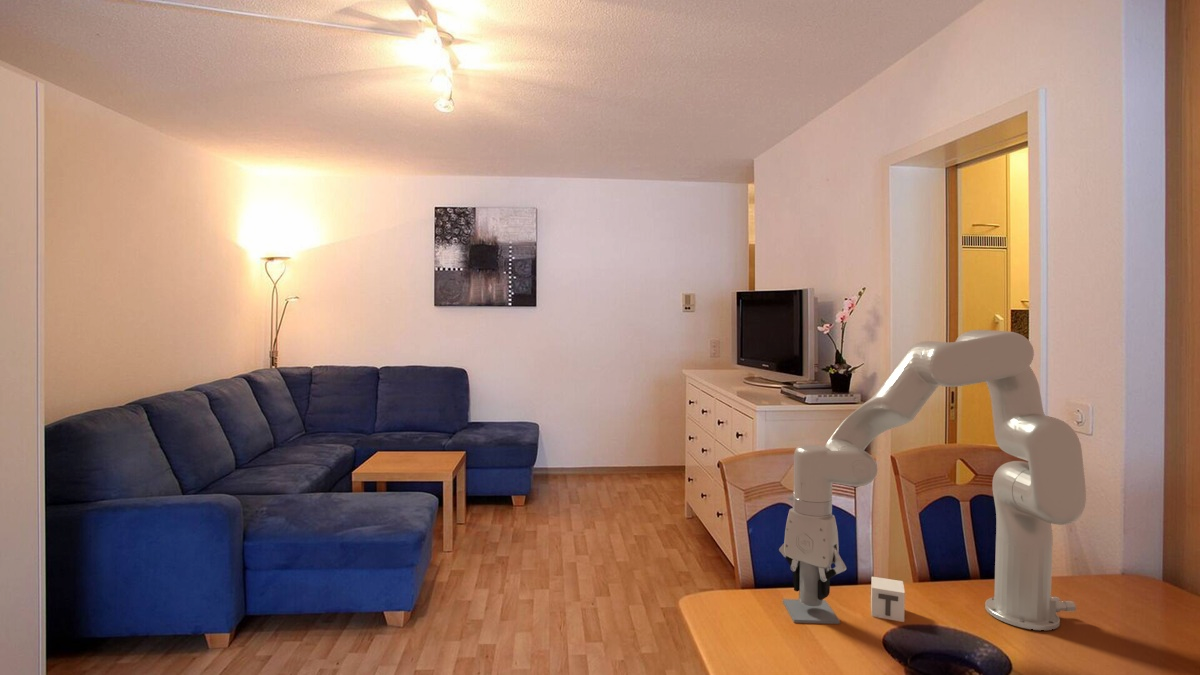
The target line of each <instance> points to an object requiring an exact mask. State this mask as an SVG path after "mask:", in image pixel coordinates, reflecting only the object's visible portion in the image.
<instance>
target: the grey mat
mask: <svg viewBox="0 0 1200 675" xmlns="http://www.w3.org/2000/svg"><path fill="white" fill-rule="evenodd" d="M782 604H783V605H784V607H785V606H786V607H785V609H786V610H788V611H787V612H788V614H789V616H790V619H791V620H792V622H793V623H796V624H824V625H825V624H828V625H834V624H835V625H841V624H840V623H841V620H840V619H839V618H838V616H837V615H836V614H835V612H834V610H833V609H832V608H831V606H830V605H829V602H827V600H825V599H823V600H822V604H821V605H820V606H808V605H805V604H803V603H801V602H800V600H799V598H797V599H794V598H788V599H787V598H783V599H782Z"/></svg>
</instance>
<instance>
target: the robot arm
mask: <svg viewBox="0 0 1200 675" xmlns="http://www.w3.org/2000/svg"><path fill="white" fill-rule="evenodd" d="M1034 356H1035V352H1034V348H1033V344H1032V343H1031V341H1030V340H1029V339H1028V338H1027V337H1025V336H1024V335H1022V334H1020V333H1018V332H1015V331H1008V330H989V329H976V330H975V329H974V330H973V329H972V330H968V331H966V332H963V333H962V334H961V333H960V335H959V336H958V337H957V338H956V339H955V341H951V342H945V341H944V342H942V341H929V340H928V341H927V340H926V341H920V342H916V343H915V344H914V345H912V346H911V347H910V348H908V350H907V351H906V352H905V354H904V355H903V357H902V358H901V359H900V361H899V362H898V363H897V364H896V365H895V367H894V368H893V370H892V371H891V373H890V374H888V377H886V379H885V380H884V382H883V383H882V385H881V386H880V387H879V389H878V390H877V391H876V392H875V393H874V395H873V396H872V397H871V398H870V399H868V400H866V401H865V402H863V403H862V404H861V405H860V406H859V407H858V408H856V409H855V410H854V411H852V412H851V413H850V414H849V415H848V416H847V417H846V418H845V419H844V420H843V421H842V422H841V423H840V424H839V426H838V427H837V428H836V430H834V432H833V434H832V435H831V436H830V437H829V439H828V440H827V441H826V443H825V445H824V446H823V445H820V444H819V445H818V444H803V445H802V444H801V445H798V446H797V447H796V448H795V450H794V452H793V453H794V454H793V494H792V495H791V494H790V495H788V498H787V500H788V502H791V503H792V508H789V510H788V515H787V519H786V524H785V530H784V541H783V542H784V543H783V544H782V545H781V546H780V547H779V549H778V551H779V552H780V553H781V555H782V556H783V557H784V558H785V560H786V561H787V563H788V565H789V566H790V570H791V571H792V585H793V590H794V592H799V577H800V562H803V563H807V564H810V565H813V566H816V567H818V568H819V573H820V580H818V599H819V600H825V599H826V598H828V596H829V595H830V593H831V592H830V590H831V589H830V588H831V578H834V576H836V575H838V574H839V575H840V574H841V573H844V572H845V571H846V570H847V566H846V564H845V562H844V561H843V559H842V558H841V556H840V553H839V552H840V551H839V549H840V548H839V532H838V526H837V521H836V516H835V514H833V484H837V485H844V486H850V487H863V486H867V485H869V484H871V483H872V482H873V481H874V480H875V479H876V477H877V474H878V465H877V462H876V460H875V459H874V457H873V456H872V455H871V454H870V453H869V452H867V451H865V450H866V448H867V447H868V446H869V445H870V443H871V442H872V441H873V440H874V439H876V438H877V437H879V435H881V434H882V433H884V432H887V431H890V430H891V429H895V428H898V427H902V426H904V425H907V424H909V423H910V422H912V421H914V419H915V418H916V416H917V415H918V414H919V412H920V411H921V410H922V408H923V407H924V406H925V404H926V403H927V402H928V401H929V399H930V397H931V396H932V395H933V394H934V392H935V391H936V390H937V388H938V387H939V386H941V387H946V388H947V387H949V388H954V387H956V388H957V387H964V386H969V385H975V384H981V383H986V386H987V388H988V392H989V396H990V401H991V411H992V419H993V431H994V439H995V442H996V445H997V447H999V449H1000V450H1001V451H1003V452H1004V453H1006V454H1008V455H1010V456H1013V457H1014V458H1018V459H1020V460H1012V461H1008V462H1005V463H1003V464H1001V465H1000V466H999V467H998V468H997V469H996V471H995V472H994V475H993V477H992V481H991V482H992V486H991V487H992V488H991V489H992V495H993V500H994V501H993V502H994V507H995V514H996V515H995V518H996V521H995V522H996V525H995V528H996V529H995V530H996V531H995V533H996V534H995V558H994V559H995V562H994V564H995V565H994V595H993V597H990V598H988V599H986V601H984V603H985V604H984V605H985V606H984V608H985V610H986V612H987V613H988V614H989V615H990V616H992V617H994V618H995V619H997V620H999V621H1001V622H1002V623H1003V622H1004V623H1005V624H1008V625H1011V626H1014V627H1017V628H1021V629H1026V630H1031V629H1033V630H1032V631H1041V630H1044V631H1052V629H1053V630H1056V629H1058V628H1059V627H1060V622H1061V621H1060V620H1061V619H1060V617H1059V615H1058V614H1057V613H1060V612H1061V611H1063V612H1076V610H1077V606H1076V604H1075V602H1074V601H1073V600H1072V601H1071V600H1061V599H1060V598H1059V597H1058V596H1052V572H1053V571H1052V570H1053V565H1052V564H1053V545H1054V544H1053V543H1054V540H1053V539H1054V537H1053V536H1054V534H1053V527H1052V524H1053V525H1059V526H1064V525H1069V524H1072V523H1074V522H1075V521H1077V520H1078V519H1079V518H1080V517H1081V516H1082V514H1083V513H1084V510H1085V508H1086V503H1087V502H1086V501H1087V491H1086V489H1087V488H1086V478H1085V468H1084V459H1083V450H1082V444H1081V441H1080V439H1079V437H1078V435H1077V433H1076V431H1075V430H1074V428H1073V427H1072V426H1071V425H1070V424H1069V423H1067V422H1066V421H1064V420H1063V419H1059V418H1056V417H1052V416H1050V415H1045V412H1044V408H1043V403H1042V402H1043V401H1042V396H1041V391H1040V390H1041V389H1040V386H1039V382H1038V378H1037V376H1036V374H1035V373H1034V371H1033V369H1032V368H1031V364H1032V363H1033V361H1034ZM1022 460H1023V461H1022ZM832 564H834V565H835V566H834V567H833V568H832Z"/></svg>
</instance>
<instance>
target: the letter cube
mask: <svg viewBox="0 0 1200 675" xmlns="http://www.w3.org/2000/svg"><path fill="white" fill-rule="evenodd" d="M870 581H871V583H870V584H871V587H870V589H871V591H870V592H871V593H870V610H871V613H870V614H871V617H874V618H879V619H885V620H891V621H895V622H901V623H902V622H903V623H905V603H906V602H905V600H906V597H905V596H906V595H905V594H906V591H905V586H904V581H903V580H898V579H897V580H896V579H890V578H885V577H884V578H883V577H880V576H879V577H876V576H871V580H870Z"/></svg>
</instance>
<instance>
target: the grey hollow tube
mask: <svg viewBox="0 0 1200 675" xmlns="http://www.w3.org/2000/svg"><path fill="white" fill-rule="evenodd" d="M818 580H820V573H819V568H818V567H816V566H813V565H810V564H807V563H803V562H800V577H799V591H798V592H799V593H798V599H799V600H800V602H801V603H803V604H805V605H808V606H820V605H821V604H822V600H819V599H818Z"/></svg>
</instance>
